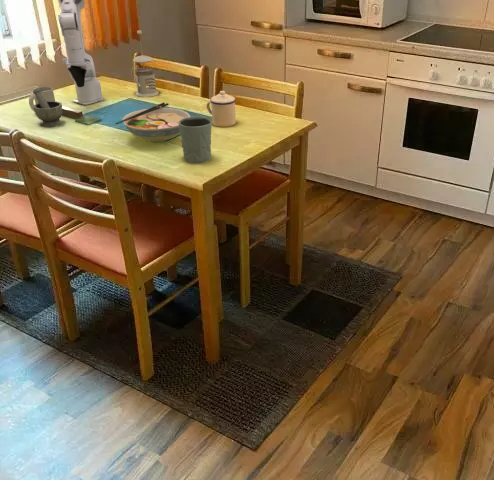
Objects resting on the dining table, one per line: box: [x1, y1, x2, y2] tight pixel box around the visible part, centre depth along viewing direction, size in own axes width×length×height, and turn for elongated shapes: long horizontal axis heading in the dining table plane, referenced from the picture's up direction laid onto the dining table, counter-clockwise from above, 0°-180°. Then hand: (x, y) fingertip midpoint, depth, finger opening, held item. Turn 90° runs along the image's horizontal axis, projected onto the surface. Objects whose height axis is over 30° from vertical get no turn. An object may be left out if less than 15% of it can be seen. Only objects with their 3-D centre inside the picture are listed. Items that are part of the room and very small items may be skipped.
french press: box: [130, 29, 160, 98], centre depth 239 cm, size 10×12×25 cm
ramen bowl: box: [114, 102, 191, 143], centre depth 199 cm, size 25×23×8 cm
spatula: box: [61, 105, 102, 126], centre depth 218 cm, size 18×6×3 cm, turn 57°
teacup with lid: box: [206, 90, 237, 128], centre depth 213 cm, size 12×9×12 cm
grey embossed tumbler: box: [178, 116, 213, 164], centre depth 184 cm, size 10×10×12 cm
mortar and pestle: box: [32, 89, 63, 128], centre depth 211 cm, size 11×9×12 cm
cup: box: [28, 86, 56, 113], centre depth 221 cm, size 7×10×9 cm
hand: (80, 86), depth 219 cm, fingers closed
